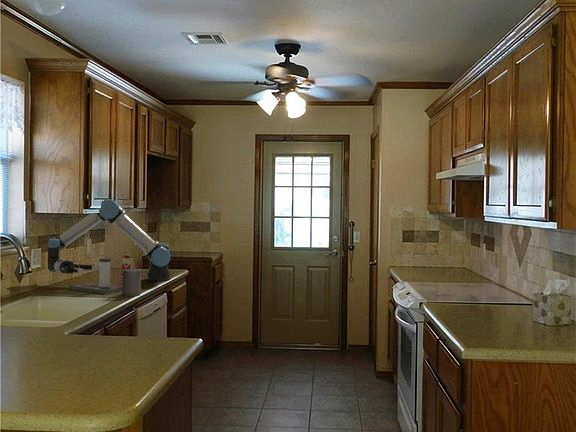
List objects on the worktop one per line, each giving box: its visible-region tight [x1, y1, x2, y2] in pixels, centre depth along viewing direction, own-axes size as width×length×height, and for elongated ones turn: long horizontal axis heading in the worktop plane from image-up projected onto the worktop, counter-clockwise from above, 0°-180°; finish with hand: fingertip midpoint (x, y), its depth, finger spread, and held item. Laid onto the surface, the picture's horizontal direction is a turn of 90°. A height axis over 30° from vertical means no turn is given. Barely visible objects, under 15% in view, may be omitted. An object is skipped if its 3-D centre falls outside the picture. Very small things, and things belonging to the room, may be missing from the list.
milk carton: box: [117, 252, 136, 287], centre depth 334 cm, size 9×9×20 cm
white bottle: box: [98, 257, 112, 287], centre depth 315 cm, size 4×4×16 cm
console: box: [69, 282, 122, 295], centre depth 318 cm, size 26×14×2 cm, turn 64°
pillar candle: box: [121, 268, 142, 297], centre depth 307 cm, size 10×10×15 cm
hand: (91, 270), depth 319 cm, fingers open, 13 cm apart
